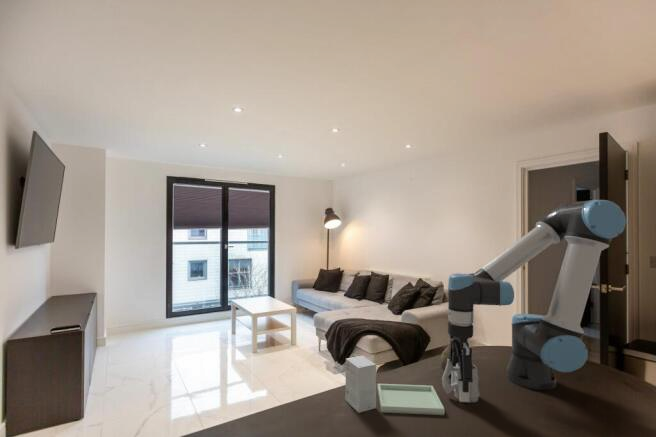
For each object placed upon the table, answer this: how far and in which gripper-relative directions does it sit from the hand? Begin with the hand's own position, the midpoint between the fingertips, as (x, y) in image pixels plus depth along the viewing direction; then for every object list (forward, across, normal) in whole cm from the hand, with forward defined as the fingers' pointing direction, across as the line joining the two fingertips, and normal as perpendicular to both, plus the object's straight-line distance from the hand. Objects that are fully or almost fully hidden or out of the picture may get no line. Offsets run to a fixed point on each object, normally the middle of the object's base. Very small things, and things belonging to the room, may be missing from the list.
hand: (459, 394), depth 108 cm
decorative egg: (+1, -17, +2) cm, 17 cm away
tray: (+1, +4, -17) cm, 17 cm away
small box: (+1, +7, -32) cm, 33 cm away
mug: (+1, 0, 0) cm, 1 cm away
